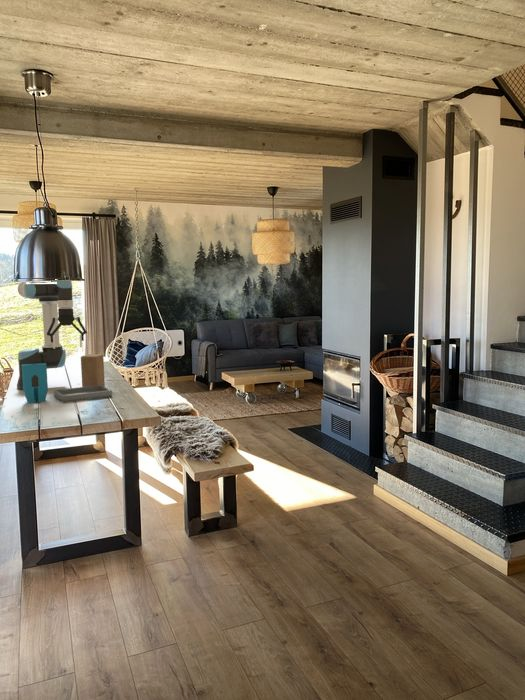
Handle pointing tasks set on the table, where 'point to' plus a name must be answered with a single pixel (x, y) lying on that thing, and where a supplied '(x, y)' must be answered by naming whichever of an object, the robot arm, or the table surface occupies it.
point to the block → (41, 391)
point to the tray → (82, 393)
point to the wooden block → (92, 370)
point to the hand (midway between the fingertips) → (67, 347)
